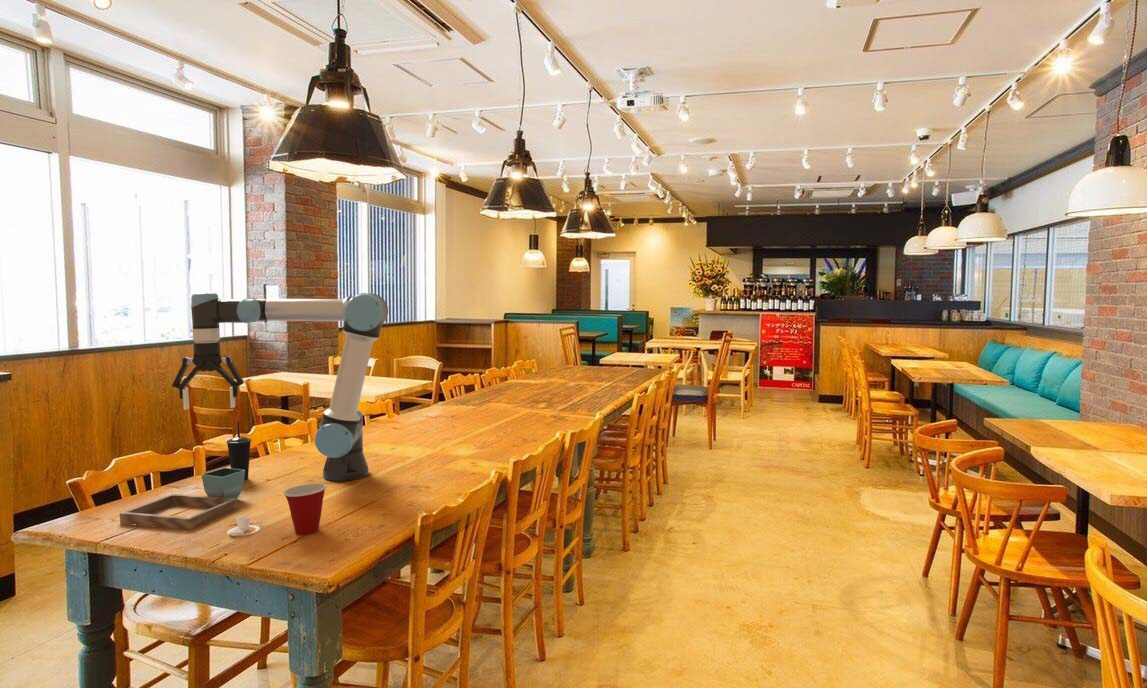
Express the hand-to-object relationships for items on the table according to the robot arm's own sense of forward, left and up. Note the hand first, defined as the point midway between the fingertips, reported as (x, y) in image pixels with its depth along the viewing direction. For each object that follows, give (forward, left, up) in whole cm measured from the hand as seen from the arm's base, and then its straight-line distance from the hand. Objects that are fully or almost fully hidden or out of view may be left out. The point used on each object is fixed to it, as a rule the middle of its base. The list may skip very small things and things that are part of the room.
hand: (209, 408), depth 215 cm
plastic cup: (-51, +26, -27) cm, 63 cm away
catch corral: (-9, +23, -27) cm, 36 cm away
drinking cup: (0, -13, -27) cm, 30 cm away
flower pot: (-11, +8, -27) cm, 30 cm away
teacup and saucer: (-32, +31, -28) cm, 52 cm away
